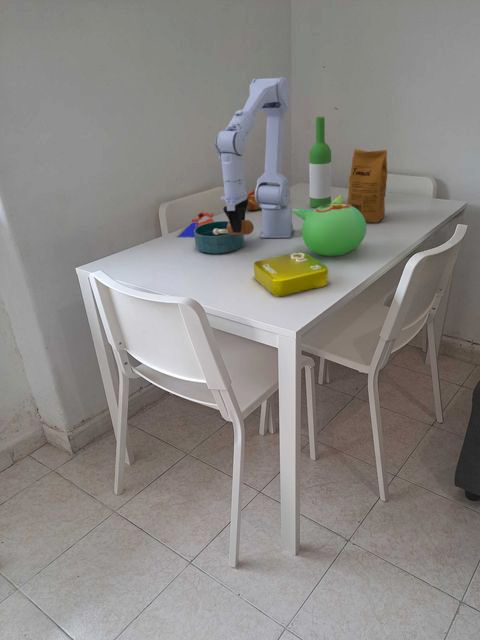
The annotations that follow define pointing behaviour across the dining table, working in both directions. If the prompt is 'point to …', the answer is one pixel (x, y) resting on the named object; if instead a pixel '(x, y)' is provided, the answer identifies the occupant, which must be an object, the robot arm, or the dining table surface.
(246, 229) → the drumstick
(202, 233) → the teal mixing bowl
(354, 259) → the dining table surface
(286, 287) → the element tile
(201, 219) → the fish
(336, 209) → the green teapot
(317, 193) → the wine bottle
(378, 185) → the coffee package
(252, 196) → the croissant
